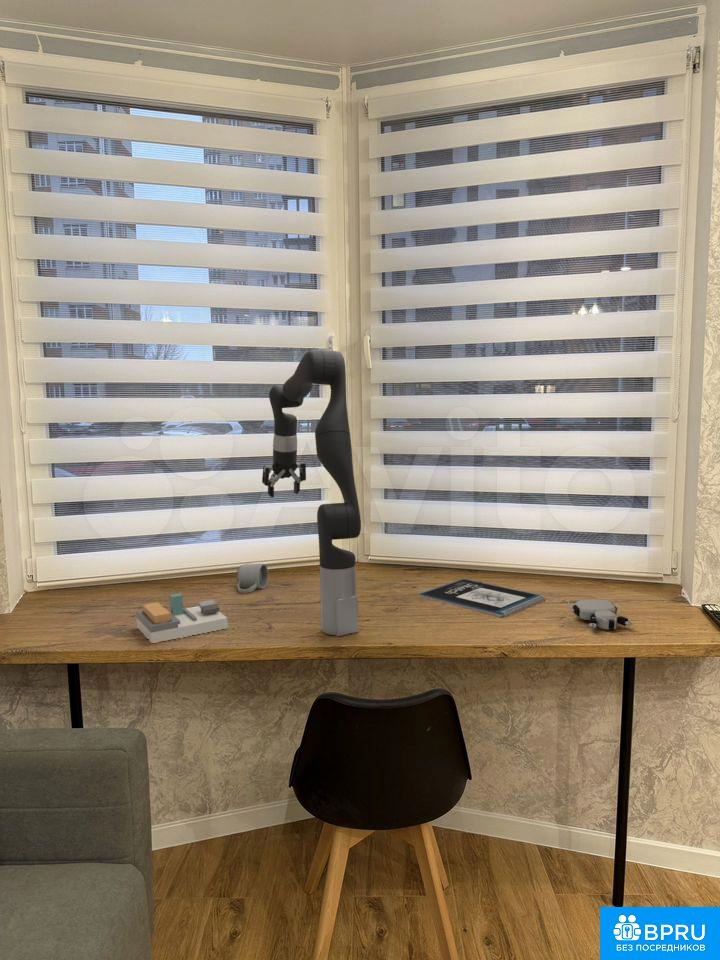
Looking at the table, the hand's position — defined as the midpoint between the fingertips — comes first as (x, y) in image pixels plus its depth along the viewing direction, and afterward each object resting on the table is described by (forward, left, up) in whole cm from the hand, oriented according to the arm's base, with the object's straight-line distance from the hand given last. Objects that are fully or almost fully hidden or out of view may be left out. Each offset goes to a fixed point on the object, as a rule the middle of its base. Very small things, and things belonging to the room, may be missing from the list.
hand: (283, 494), depth 236 cm
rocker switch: (-29, +37, -24) cm, 52 cm away
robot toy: (-87, -49, -28) cm, 103 cm away
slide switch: (-25, +44, -24) cm, 56 cm away
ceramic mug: (-5, +14, -28) cm, 32 cm away
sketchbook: (-53, -38, -28) cm, 71 cm away
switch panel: (-29, +44, -28) cm, 59 cm away
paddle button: (-29, +51, -23) cm, 63 cm away
